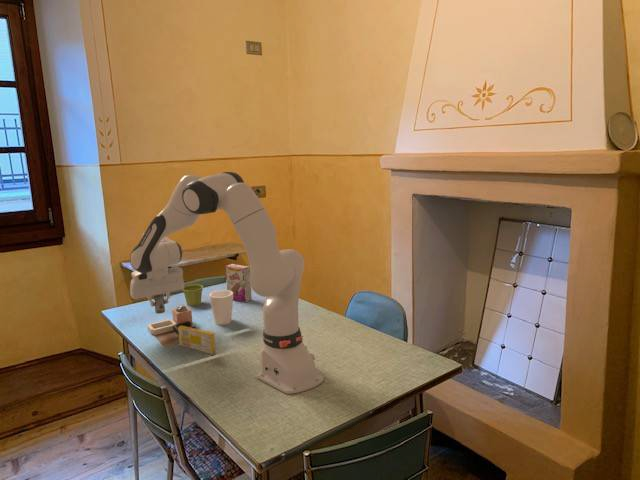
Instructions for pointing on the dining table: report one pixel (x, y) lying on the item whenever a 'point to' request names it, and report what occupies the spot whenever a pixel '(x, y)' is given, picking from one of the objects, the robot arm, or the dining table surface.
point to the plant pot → (193, 294)
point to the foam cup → (222, 306)
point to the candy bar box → (239, 282)
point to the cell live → (159, 303)
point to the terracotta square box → (182, 316)
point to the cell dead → (181, 309)
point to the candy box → (197, 339)
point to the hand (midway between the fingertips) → (159, 304)
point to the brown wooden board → (172, 335)
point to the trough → (161, 326)
